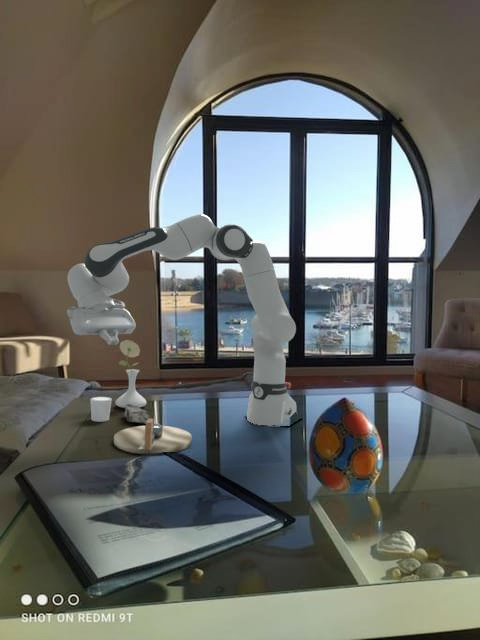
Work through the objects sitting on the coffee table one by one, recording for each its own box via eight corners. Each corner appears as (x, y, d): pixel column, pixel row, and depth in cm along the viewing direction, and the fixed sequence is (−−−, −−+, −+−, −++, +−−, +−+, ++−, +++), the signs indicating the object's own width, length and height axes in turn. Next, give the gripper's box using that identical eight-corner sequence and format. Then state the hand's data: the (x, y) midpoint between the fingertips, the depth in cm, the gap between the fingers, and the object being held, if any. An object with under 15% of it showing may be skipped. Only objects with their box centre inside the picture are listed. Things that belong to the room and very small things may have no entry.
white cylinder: (91, 422, 145) (92, 401, 145) (87, 417, 151) (88, 396, 151) (112, 421, 148) (113, 400, 148) (108, 416, 154) (109, 395, 154)
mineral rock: (153, 426, 146) (153, 413, 145) (127, 427, 143) (128, 413, 143) (146, 415, 159) (147, 402, 159) (123, 415, 157) (124, 403, 157)
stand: (157, 426, 146) (157, 421, 146) (207, 442, 132) (207, 437, 132) (97, 440, 128) (98, 434, 128) (148, 460, 115) (148, 454, 115)
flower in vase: (152, 407, 170) (156, 341, 169) (130, 412, 161) (133, 342, 159) (128, 401, 177) (131, 338, 176) (105, 406, 167) (108, 339, 166)
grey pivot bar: (149, 426, 138) (150, 403, 138) (165, 426, 139) (166, 404, 138) (137, 448, 117) (138, 422, 117) (156, 449, 118) (158, 423, 117)
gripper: (69, 299, 128) (87, 337, 122) (127, 302, 144) (146, 335, 138) (60, 314, 131) (77, 351, 125) (118, 315, 147) (136, 348, 141)
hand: (114, 343), depth 132 cm, fingers closed
